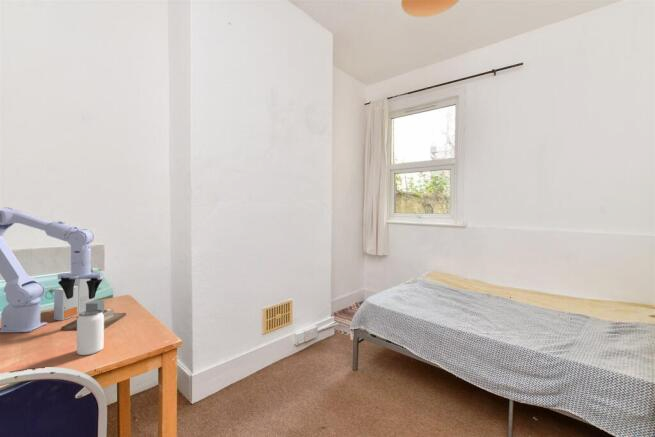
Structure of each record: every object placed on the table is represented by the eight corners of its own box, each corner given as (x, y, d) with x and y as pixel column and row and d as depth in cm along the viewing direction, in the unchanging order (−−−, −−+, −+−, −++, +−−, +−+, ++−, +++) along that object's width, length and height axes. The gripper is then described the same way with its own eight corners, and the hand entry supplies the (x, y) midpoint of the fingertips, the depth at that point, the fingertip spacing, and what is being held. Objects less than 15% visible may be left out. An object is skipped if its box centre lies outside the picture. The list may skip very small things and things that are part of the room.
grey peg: (85, 322, 109) (85, 303, 109) (93, 317, 113) (93, 300, 113) (97, 321, 110) (97, 303, 110) (104, 317, 114) (104, 300, 114)
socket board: (61, 329, 104) (61, 320, 104) (89, 315, 118) (89, 306, 118) (103, 329, 106) (103, 319, 106) (125, 315, 120) (126, 306, 120)
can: (87, 345, 94) (87, 308, 93) (108, 345, 94) (108, 309, 94) (71, 356, 87) (71, 316, 87) (94, 355, 88) (94, 316, 87)
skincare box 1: (62, 320, 112) (62, 290, 112) (53, 319, 113) (53, 289, 113) (78, 315, 118) (78, 286, 118) (70, 314, 119) (70, 285, 118)
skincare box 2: (64, 310, 122) (64, 274, 122) (81, 305, 129) (81, 270, 128) (78, 313, 120) (78, 276, 119) (95, 308, 126) (95, 272, 126)
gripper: (50, 264, 104) (50, 301, 104) (94, 264, 106) (94, 301, 106) (66, 260, 111) (66, 295, 112) (107, 260, 113) (106, 295, 113)
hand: (80, 298), depth 109 cm, fingers open, 7 cm apart
